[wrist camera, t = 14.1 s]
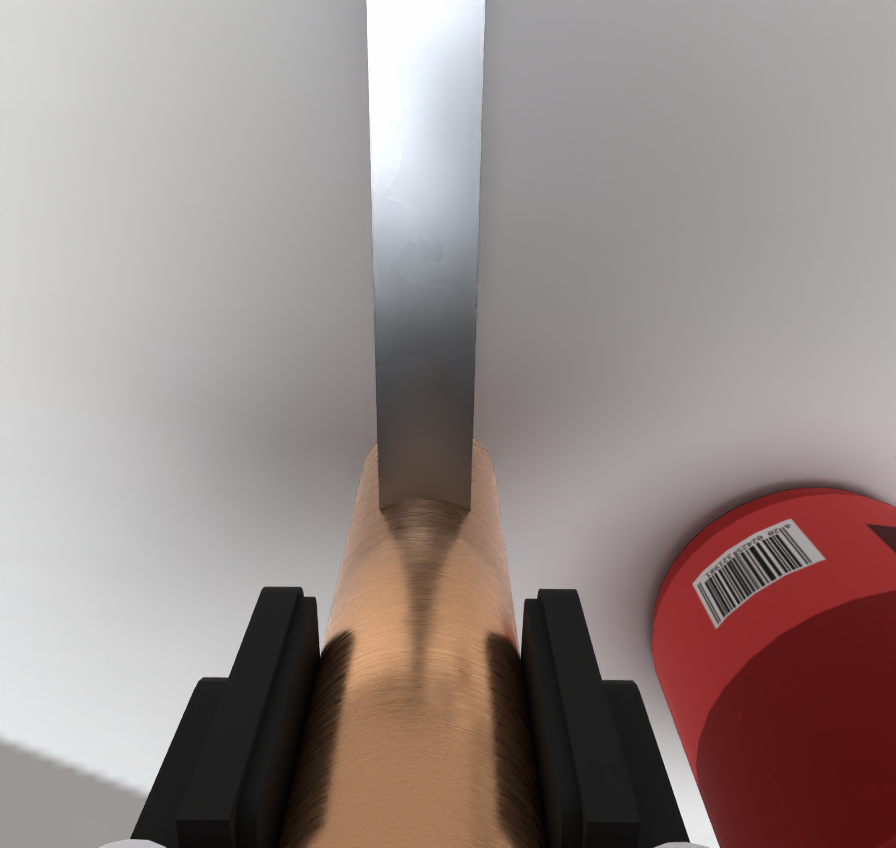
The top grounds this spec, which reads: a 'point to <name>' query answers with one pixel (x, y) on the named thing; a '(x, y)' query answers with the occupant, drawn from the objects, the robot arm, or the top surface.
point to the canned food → (787, 669)
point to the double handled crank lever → (421, 499)
